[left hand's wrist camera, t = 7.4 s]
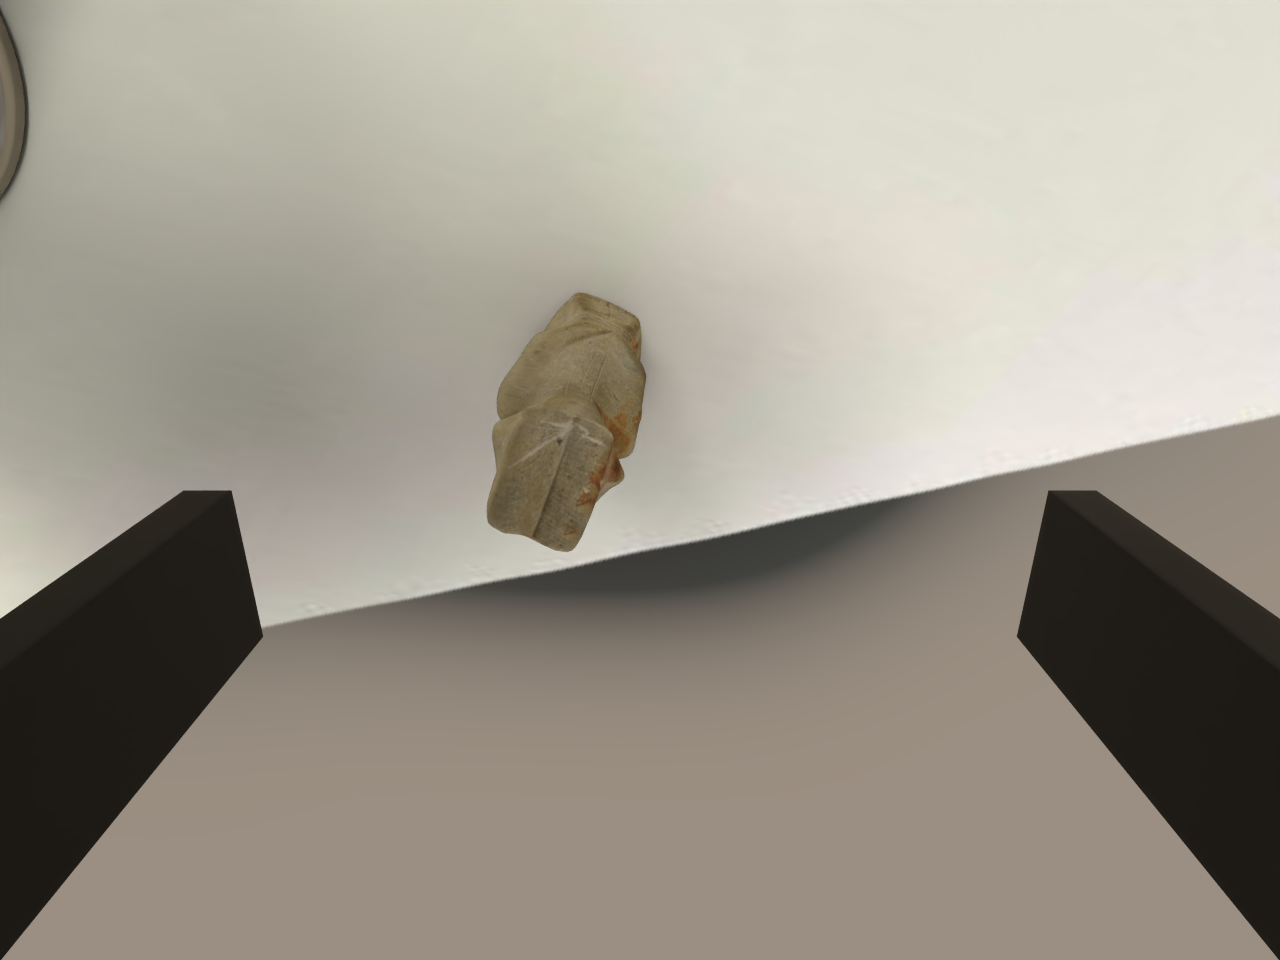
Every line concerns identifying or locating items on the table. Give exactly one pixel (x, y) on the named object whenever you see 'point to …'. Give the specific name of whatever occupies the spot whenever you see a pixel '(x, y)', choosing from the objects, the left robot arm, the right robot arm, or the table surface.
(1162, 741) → the left robot arm
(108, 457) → the table surface
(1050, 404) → the table surface
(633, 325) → the sculpture
